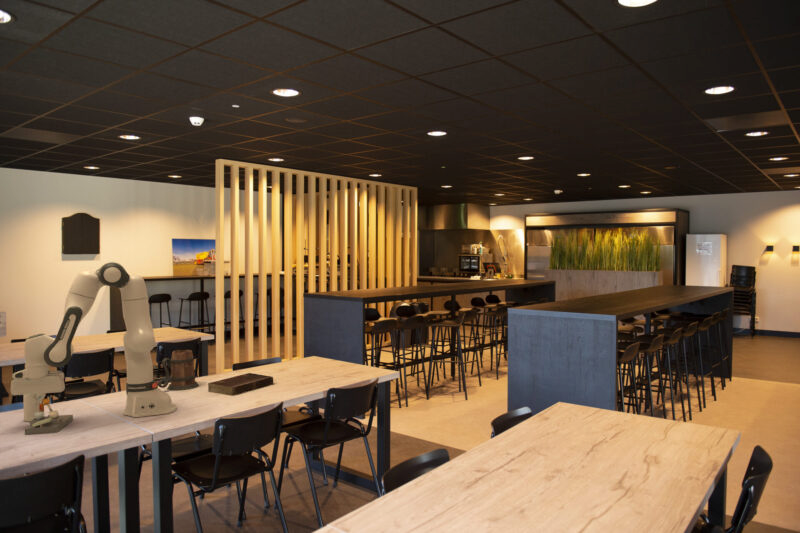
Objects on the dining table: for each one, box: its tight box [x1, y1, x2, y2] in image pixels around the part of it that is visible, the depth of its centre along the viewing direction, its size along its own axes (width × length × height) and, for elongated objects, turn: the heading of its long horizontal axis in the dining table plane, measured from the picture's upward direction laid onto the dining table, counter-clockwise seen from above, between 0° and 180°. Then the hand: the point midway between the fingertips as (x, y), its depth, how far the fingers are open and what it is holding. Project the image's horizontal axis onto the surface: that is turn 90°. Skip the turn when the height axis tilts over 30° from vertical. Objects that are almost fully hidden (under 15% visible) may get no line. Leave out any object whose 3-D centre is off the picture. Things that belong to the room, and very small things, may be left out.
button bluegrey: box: [35, 411, 45, 420], centre depth 239 cm, size 3×3×2 cm
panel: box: [24, 412, 74, 436], centre depth 242 cm, size 12×18×4 cm, turn 11°
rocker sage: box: [32, 418, 52, 427], centre depth 235 cm, size 6×3×1 cm, turn 101°
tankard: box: [157, 349, 200, 392], centre depth 310 cm, size 24×17×20 cm
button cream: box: [48, 410, 59, 418], centre depth 240 cm, size 3×3×2 cm
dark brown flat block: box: [207, 372, 274, 397], centre depth 308 cm, size 29×19×5 cm, turn 148°
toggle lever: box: [43, 398, 54, 412], centre depth 246 cm, size 3×3×7 cm
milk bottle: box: [22, 394, 45, 422], centre depth 255 cm, size 8×8×20 cm
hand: (38, 403), depth 245 cm, fingers closed
